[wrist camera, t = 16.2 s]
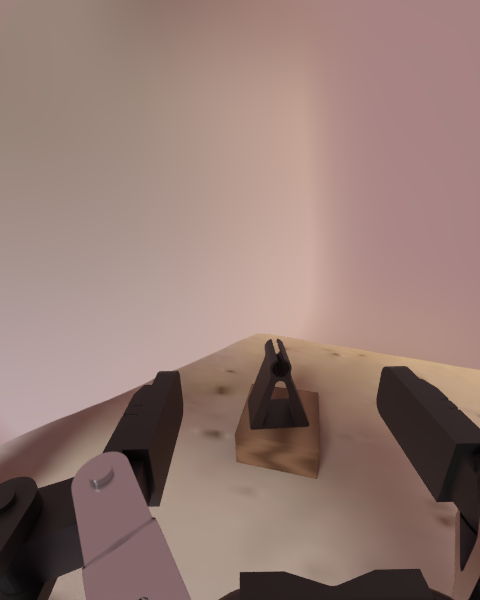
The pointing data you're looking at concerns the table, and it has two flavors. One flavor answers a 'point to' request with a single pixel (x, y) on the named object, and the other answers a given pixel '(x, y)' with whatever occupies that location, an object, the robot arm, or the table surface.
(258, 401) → the phone stand
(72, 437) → the table surface
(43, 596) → the robot arm
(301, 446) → the walnut block
